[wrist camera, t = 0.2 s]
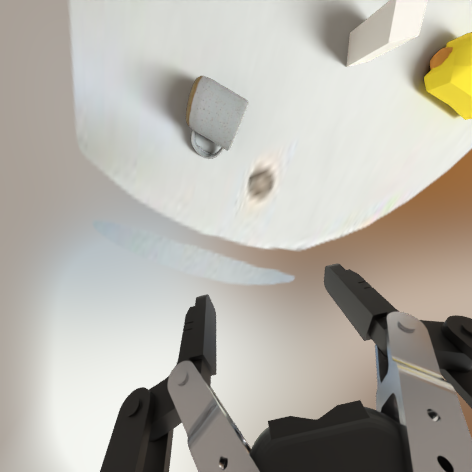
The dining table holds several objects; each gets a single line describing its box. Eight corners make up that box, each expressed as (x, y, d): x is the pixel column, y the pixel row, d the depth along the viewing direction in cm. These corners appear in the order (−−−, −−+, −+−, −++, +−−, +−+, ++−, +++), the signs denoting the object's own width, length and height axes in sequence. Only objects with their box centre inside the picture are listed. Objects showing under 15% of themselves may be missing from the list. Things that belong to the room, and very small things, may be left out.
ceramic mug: (201, 79, 27) (196, 60, 21) (245, 106, 30) (253, 97, 23) (183, 146, 32) (174, 148, 25) (222, 165, 34) (224, 171, 27)
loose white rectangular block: (349, 33, 26) (397, -6, 19) (377, 26, 26) (435, -15, 19) (346, 67, 28) (388, 42, 21) (372, 61, 28) (422, 34, 21)
